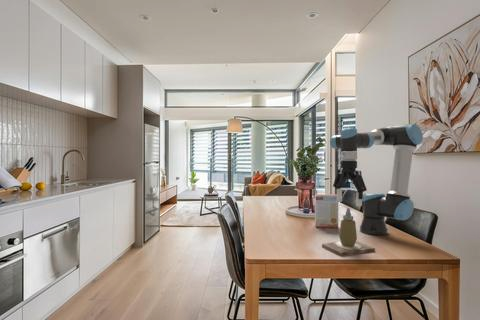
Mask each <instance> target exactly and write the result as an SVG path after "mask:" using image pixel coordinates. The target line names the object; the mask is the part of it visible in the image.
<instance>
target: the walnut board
mask: <svg viewBox="0 0 480 320" xmlns="http://www.w3.org/2000/svg"><path fill="white" fill-rule="evenodd" d="M321 247H322V248H324V249H325V250H327V251H330V252H332V253H333V254H336V255H338V256H340V257H344V256H350V255H358V254H365V253H373V252H376V248H375V247H374V246H370V245H368V244H365V243H364V242H360V241H357V240H356V242H355V245H354V246H344V245H342V244H341V241H334V242H325V243H322V244H321Z"/></svg>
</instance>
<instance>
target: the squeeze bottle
mask: <svg viewBox="0 0 480 320" xmlns="http://www.w3.org/2000/svg"><path fill="white" fill-rule="evenodd" d="M339 228H340V229H339V239H340V241H339V242H341V244H342V245H344V246H354V245H355V242H356V241H357V239H358V237H357V236H358V234H357V224H356V221H355V220H354V215H352V214H351V209H350V207H347V208H346V211H345V214H344V215H342V219H341V221H340V227H339Z"/></svg>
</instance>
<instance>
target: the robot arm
mask: <svg viewBox="0 0 480 320" xmlns="http://www.w3.org/2000/svg"><path fill="white" fill-rule="evenodd" d="M423 138H424V137H423V132H422V129H421V127H420V126H419V125H417V123H416V124H414V123H411V124H410V123H407V124H399V125H389V126H384V127H381V128H376V129H373V130H372V131H365V132H364V131H363V132H358V129H357V128H355V127H352V128H351V127H349V128H343V129H341V130H340V134H337V135H333V136H331V137H330V140H329V144H330V147H331V148H332V149H334V150H340V160H341V161H340V169H337V171H336V176H335V179H334V182H333V185H332V187H333V188H335V194H336V195H337V202H338V203H339V202H342V201H343V188H342V186H343V185H344V183H345V182H346V180H350V181H351V182H352V185H353V186H354V187H355V189H356V193H355V194H356V196H355V200H356V201H355V203H356V205H355V206H356V207H362V209H363V210H362V212H363V213H362V220H361V225H360V226H359V231H360V232H361V233H364V234H367V235H372V236H373V235H375V236H383V235H384V236H386V235H388V234H389V231H388V227H387V224H386V220H385V218H390V219H395V220H398V221H407V220H408V219H409V218H410V217H411V216H412V214H413V213H414V209H415V208H414V207H415V206H414V201H412V200H411V196H410V195H409V193H408V191H409V184H410V183H409V182H410V176H411V175H410V174H411V169H412V168H411V167H412V159H413V153H414V151H416V150H417V146H418V145H421V144H422V142H423ZM373 145H374V146H392V149H394V151H395V152H394V160H393V166H392V172H391V173H392V174H391V180H390V188H389V189H390V190H389V191H388V192H386V194H385V193H367V194H364V192H367V190H368V189H367V187H366V184H365V181H364V178H363V176H362V175H363V174H362V170H357V168H358V161H357V160H358V149H369V148H372V147H373Z"/></svg>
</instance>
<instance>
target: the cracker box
mask: <svg viewBox="0 0 480 320" xmlns="http://www.w3.org/2000/svg"><path fill="white" fill-rule="evenodd" d="M314 227H315V228H324V229H325V228H327V229H329V228H332V229H338V228H339V202H337V195H336V193H331V194H330V193H329V194H328V193H315V194H314Z"/></svg>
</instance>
